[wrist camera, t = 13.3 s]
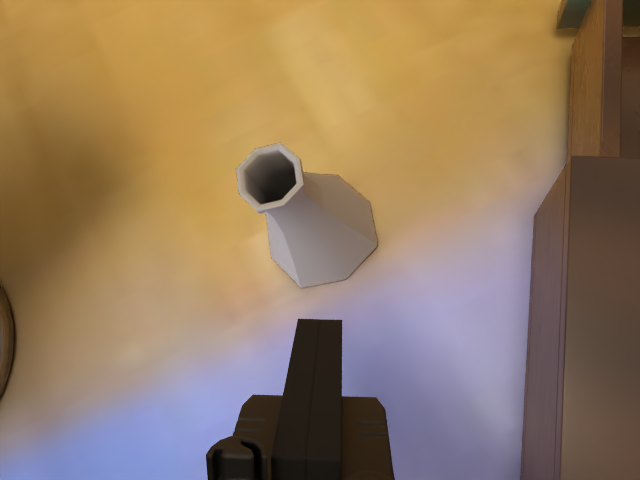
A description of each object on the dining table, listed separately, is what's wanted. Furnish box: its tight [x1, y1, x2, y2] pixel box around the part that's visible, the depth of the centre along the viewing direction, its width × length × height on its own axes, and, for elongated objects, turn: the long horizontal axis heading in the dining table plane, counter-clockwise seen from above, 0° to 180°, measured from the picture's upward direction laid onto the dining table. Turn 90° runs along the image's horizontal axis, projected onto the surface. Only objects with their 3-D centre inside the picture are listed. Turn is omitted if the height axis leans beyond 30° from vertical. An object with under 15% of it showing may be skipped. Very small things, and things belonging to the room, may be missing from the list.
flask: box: [236, 142, 378, 288], centre depth 27 cm, size 7×7×10 cm
